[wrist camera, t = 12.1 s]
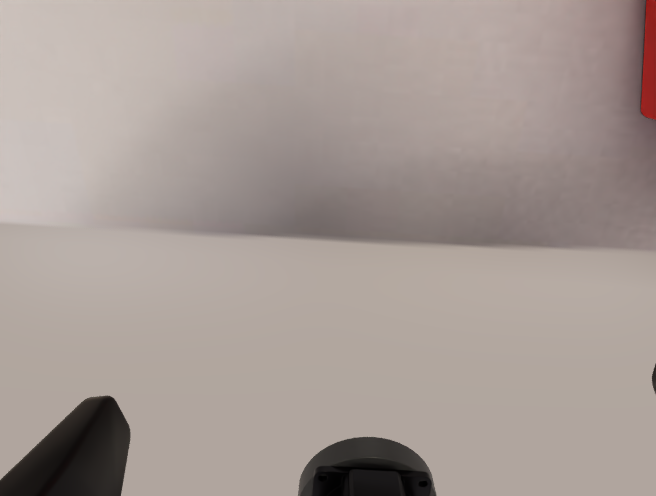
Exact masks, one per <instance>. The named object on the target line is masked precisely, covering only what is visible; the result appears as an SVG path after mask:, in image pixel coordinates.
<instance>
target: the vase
mask: <svg viewBox="0 0 656 496" xmlns="http://www.w3.org/2000/svg"><path fill="white" fill-rule="evenodd" d="M641 112H642V114H643V115H644V116H645V117H647V118H650V119H654V120H656V0H646V19H645V41H644V61H643V81H642V100H641Z"/></svg>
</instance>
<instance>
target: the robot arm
mask: <svg viewBox="0 0 656 496" xmlns="http://www.w3.org/2000/svg"><path fill="white" fill-rule="evenodd" d="M652 383H653V388H654V391H655V393H656V364H655V368H654V371H653V374H652ZM129 444H130V428H129V425H128V423H127V421H126V419H125V417H124V415H123V413H122V412H121V410H120V408H119V406H118V404H117V402H116V401H115V399H114V398H112V397H111V396H99V397H90V398H87V399H85V400H84V401H83V402H81V404H79V405H78V406H77V407H76V408H75V409H74V410H73V411H72V412H71V413H70V414H69V415H68V416H67V417H66V418H65V419H64V420H63V421H62V422H60V424H58V425H57V426H56V427H55V428H54V429H53V430H52V431H51V432H50V433H49V434H48V435H47V436H46V437H45V438H44V439H43V440H42V441H41V442H40V443H39V444H37V445H36V446H35V447H34V448H33V449H32V450H31V451H30V452H29V453H28V454H27V455H26V456H25V457H24V458H23V459H22V460H21V461H20V462H19V463H18V464H16V465H15V466H14V467H13V468H12V469H11V470H10V471H9V472H8V473H7V474H6V475H5V476H4V477H3V478H2V479H1V480H0V496H121V491H122V485H123V479H124V473H125V467H126V462H127V456H128V449H129ZM321 475H325V476H321ZM421 480H425V481H422V482H421ZM431 486H432V481H431V476H430V475H429V473H427V472H424V471H411V470H393V469H376V468H358V467H340V466H319V467H317V468H316V469H315V470H314V479H313V492H312V496H430V492H431Z"/></svg>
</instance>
